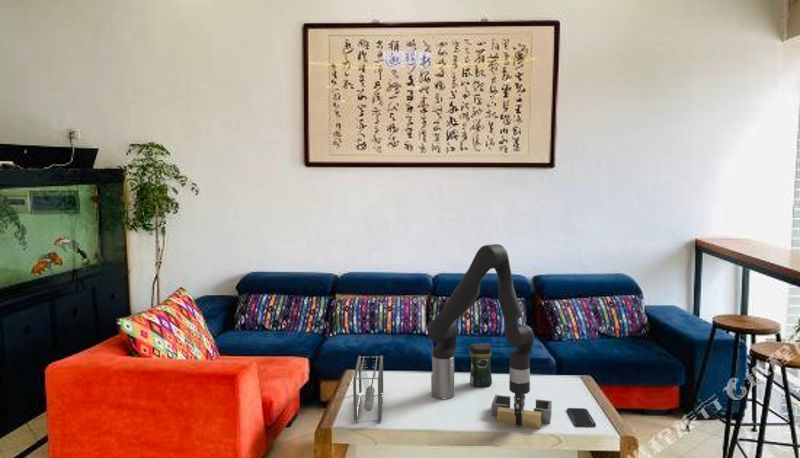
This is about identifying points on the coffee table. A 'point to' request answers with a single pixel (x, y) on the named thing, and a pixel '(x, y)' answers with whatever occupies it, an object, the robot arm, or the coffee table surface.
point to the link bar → (528, 417)
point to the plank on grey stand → (541, 406)
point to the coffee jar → (480, 365)
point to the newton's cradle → (370, 390)
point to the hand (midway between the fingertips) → (519, 422)
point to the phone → (581, 417)
